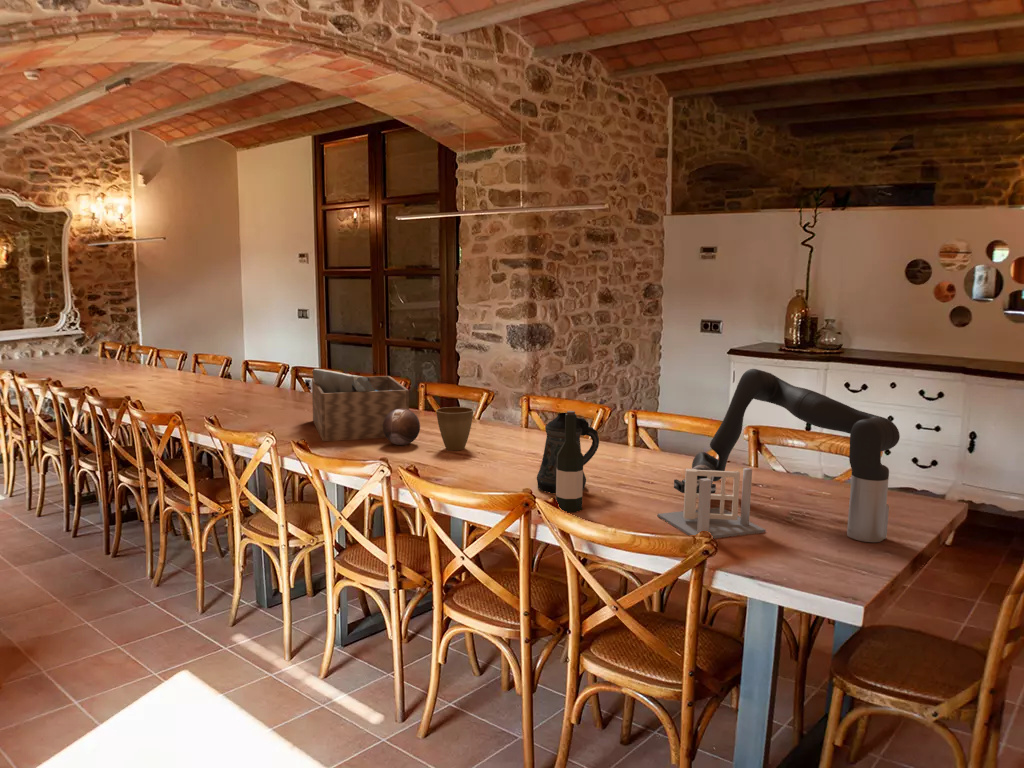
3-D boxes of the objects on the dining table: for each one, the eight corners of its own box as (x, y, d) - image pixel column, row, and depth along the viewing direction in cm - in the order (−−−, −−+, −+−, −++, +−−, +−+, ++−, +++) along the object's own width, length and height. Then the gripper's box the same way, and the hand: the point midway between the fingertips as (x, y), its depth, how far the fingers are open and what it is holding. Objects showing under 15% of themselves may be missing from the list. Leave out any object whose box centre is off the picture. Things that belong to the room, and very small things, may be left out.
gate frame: (721, 509, 238) (724, 455, 236) (765, 532, 218) (769, 473, 216) (657, 516, 231) (659, 460, 229) (697, 540, 211) (700, 479, 209)
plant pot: (477, 445, 320) (477, 407, 317) (467, 454, 305) (467, 413, 303) (442, 443, 323) (442, 405, 321) (431, 451, 309) (431, 411, 306)
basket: (418, 428, 349) (416, 366, 346) (361, 438, 327) (358, 373, 324) (364, 420, 377) (361, 363, 373) (308, 429, 354) (304, 369, 351)
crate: (390, 416, 379) (389, 375, 376) (409, 436, 336) (408, 390, 334) (313, 420, 367) (311, 378, 364) (322, 441, 325) (321, 393, 322)
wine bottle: (578, 513, 233) (580, 415, 228) (551, 510, 236) (553, 412, 231) (585, 506, 240) (588, 410, 236) (559, 503, 243) (561, 408, 239)
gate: (736, 518, 224) (738, 470, 222) (737, 521, 221) (740, 473, 219) (683, 515, 226) (685, 468, 224) (684, 518, 223) (686, 471, 221)
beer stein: (527, 484, 264) (528, 411, 260) (575, 477, 273) (576, 407, 269) (553, 497, 249) (555, 420, 246) (603, 489, 259) (605, 415, 255)
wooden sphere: (380, 448, 313) (379, 411, 310) (386, 440, 328) (385, 405, 325) (418, 449, 313) (417, 412, 311) (421, 440, 328) (421, 405, 325)
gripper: (678, 464, 243) (666, 478, 227) (722, 469, 237) (713, 484, 222) (677, 488, 244) (665, 503, 228) (721, 493, 239) (711, 509, 223)
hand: (689, 494), depth 225 cm, fingers closed
